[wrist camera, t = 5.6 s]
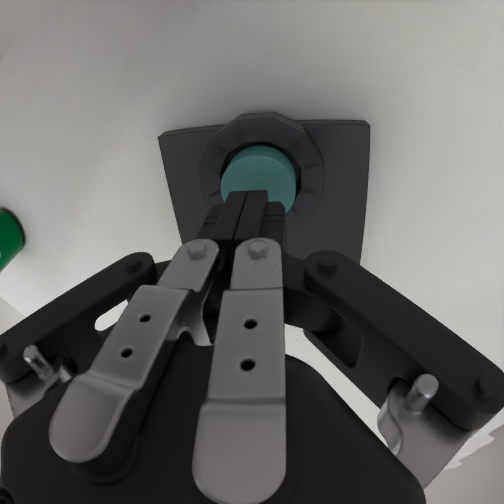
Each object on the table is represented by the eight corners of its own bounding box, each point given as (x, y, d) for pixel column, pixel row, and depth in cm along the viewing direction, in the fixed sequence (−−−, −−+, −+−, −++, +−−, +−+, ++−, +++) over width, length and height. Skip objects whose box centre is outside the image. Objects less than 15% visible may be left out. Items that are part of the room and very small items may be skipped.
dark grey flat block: (162, 120, 17) (141, 132, 15) (365, 107, 15) (379, 118, 13) (203, 300, 26) (194, 327, 23) (351, 301, 24) (355, 329, 21)
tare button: (223, 147, 15) (215, 157, 14) (294, 143, 15) (294, 154, 13) (231, 208, 17) (225, 224, 16) (296, 207, 17) (296, 223, 15)
